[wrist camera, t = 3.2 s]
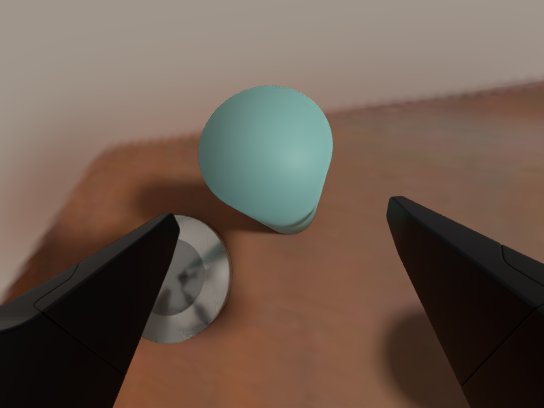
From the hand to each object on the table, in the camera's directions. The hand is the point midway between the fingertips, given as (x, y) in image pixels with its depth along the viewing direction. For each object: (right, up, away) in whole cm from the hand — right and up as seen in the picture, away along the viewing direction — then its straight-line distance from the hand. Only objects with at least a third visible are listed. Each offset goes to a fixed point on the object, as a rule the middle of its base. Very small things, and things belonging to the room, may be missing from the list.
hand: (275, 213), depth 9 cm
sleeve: (+1, 0, +10) cm, 10 cm away
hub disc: (-8, -6, +10) cm, 14 cm away
